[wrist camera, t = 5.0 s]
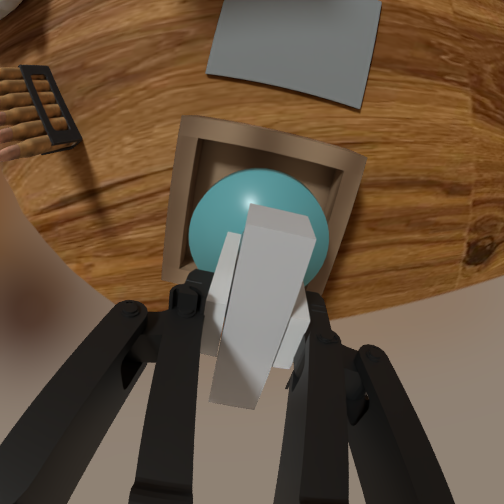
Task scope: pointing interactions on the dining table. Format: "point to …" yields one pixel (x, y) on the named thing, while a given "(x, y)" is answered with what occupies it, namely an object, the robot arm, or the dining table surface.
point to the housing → (246, 157)
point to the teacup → (8, 6)
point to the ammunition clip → (33, 113)
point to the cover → (257, 269)
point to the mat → (298, 45)
